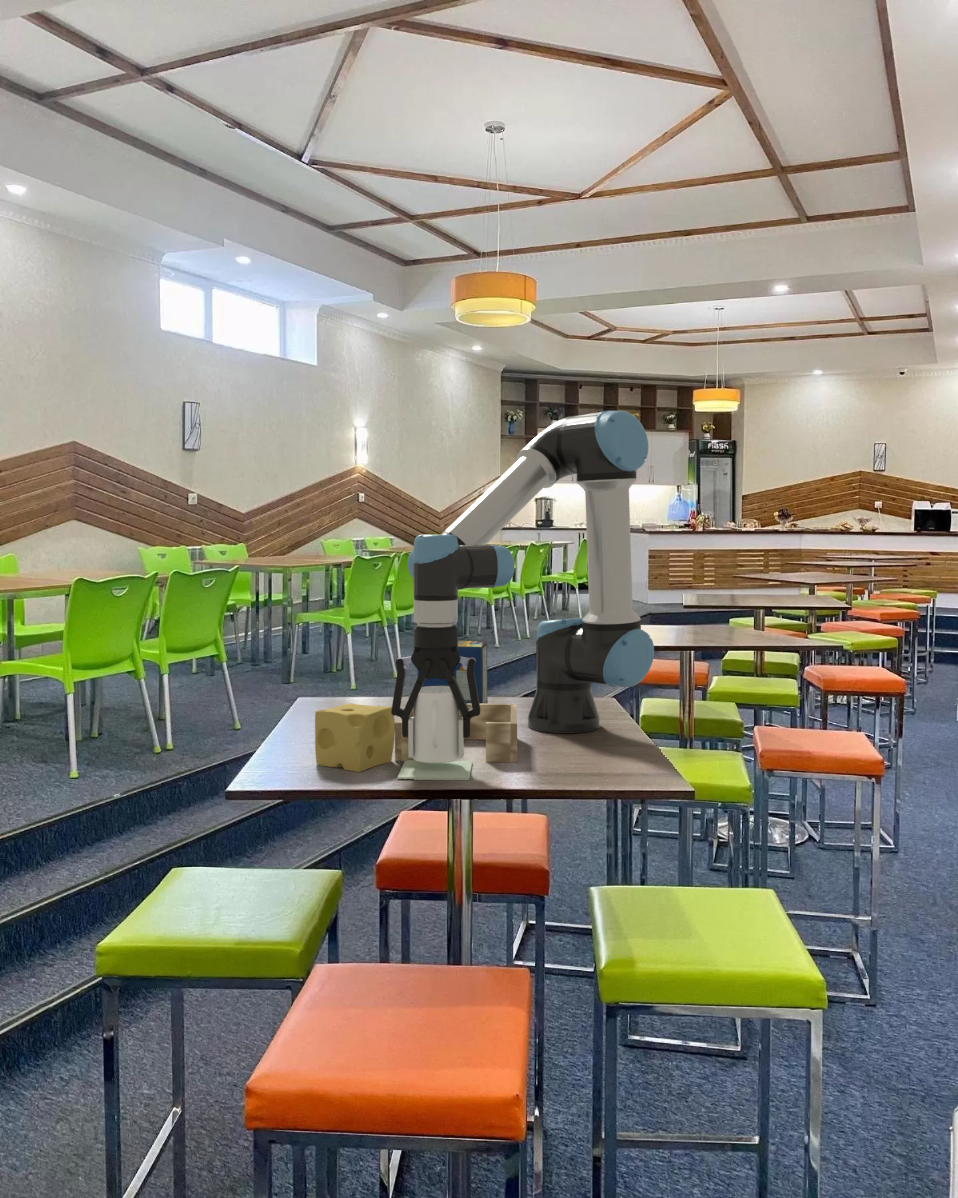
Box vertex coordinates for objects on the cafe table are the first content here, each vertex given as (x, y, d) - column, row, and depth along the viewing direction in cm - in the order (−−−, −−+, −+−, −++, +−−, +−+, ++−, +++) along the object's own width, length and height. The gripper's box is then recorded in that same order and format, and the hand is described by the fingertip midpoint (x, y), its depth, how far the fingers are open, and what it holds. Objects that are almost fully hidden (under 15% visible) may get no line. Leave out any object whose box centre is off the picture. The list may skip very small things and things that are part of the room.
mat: (472, 763, 171) (472, 760, 171) (469, 780, 159) (469, 777, 159) (405, 762, 171) (405, 760, 171) (397, 779, 159) (397, 777, 159)
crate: (516, 738, 191) (516, 703, 191) (517, 762, 171) (517, 723, 171) (407, 737, 192) (407, 703, 192) (395, 761, 172) (394, 722, 172)
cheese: (359, 773, 164) (358, 715, 163) (311, 765, 169) (311, 709, 169) (395, 761, 172) (395, 706, 172) (349, 754, 178) (349, 701, 177)
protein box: (424, 703, 231) (424, 639, 230) (488, 705, 229) (488, 640, 228) (416, 711, 221) (415, 644, 220) (482, 713, 219) (482, 645, 217)
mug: (455, 768, 159) (455, 697, 158) (404, 767, 159) (404, 696, 159) (463, 752, 170) (463, 686, 169) (416, 751, 171) (416, 685, 170)
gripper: (496, 622, 167) (496, 751, 168) (378, 622, 167) (379, 750, 169) (495, 626, 159) (495, 761, 161) (372, 626, 160) (373, 760, 161)
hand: (436, 755), depth 165 cm, fingers closed on mug, 8 cm apart
